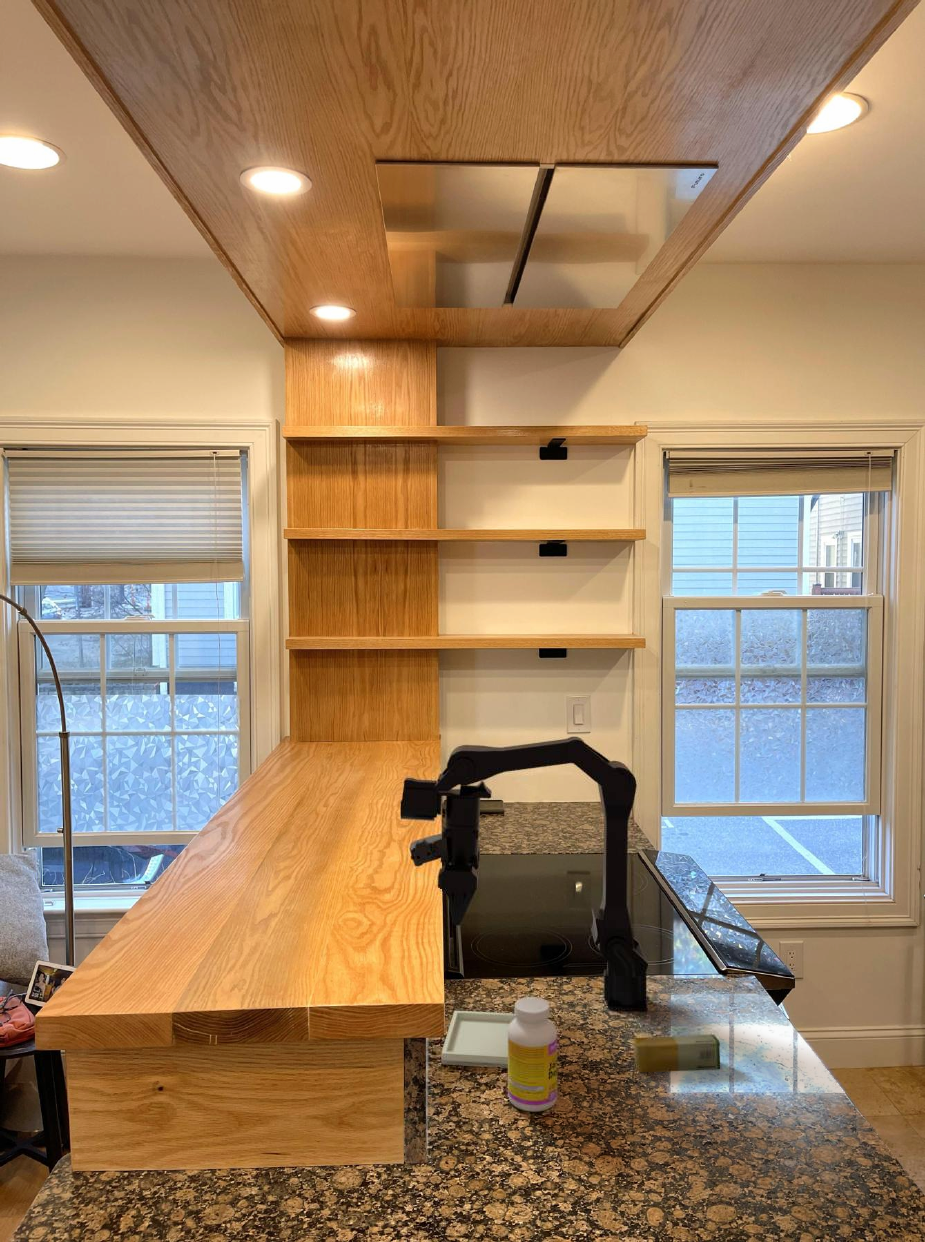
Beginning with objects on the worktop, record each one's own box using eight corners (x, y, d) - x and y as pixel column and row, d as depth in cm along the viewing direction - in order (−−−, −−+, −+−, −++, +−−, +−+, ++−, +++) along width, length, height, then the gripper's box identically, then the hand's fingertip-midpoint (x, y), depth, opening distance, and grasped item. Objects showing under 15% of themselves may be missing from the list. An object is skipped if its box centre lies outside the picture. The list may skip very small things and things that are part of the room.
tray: (537, 1024, 137) (537, 1014, 137) (532, 1069, 124) (532, 1058, 123) (454, 1020, 138) (454, 1010, 138) (441, 1064, 125) (441, 1053, 125)
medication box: (715, 1060, 126) (714, 1033, 126) (721, 1070, 123) (721, 1042, 123) (633, 1064, 125) (632, 1036, 125) (638, 1073, 123) (637, 1045, 123)
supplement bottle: (555, 1116, 112) (554, 1018, 112) (504, 1111, 114) (503, 1014, 113) (559, 1088, 119) (559, 995, 118) (512, 1083, 120) (510, 991, 120)
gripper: (419, 806, 154) (415, 893, 155) (408, 834, 136) (403, 933, 136) (481, 809, 154) (477, 897, 154) (479, 838, 135) (474, 937, 136)
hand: (457, 914), depth 145 cm, fingers open, 9 cm apart
